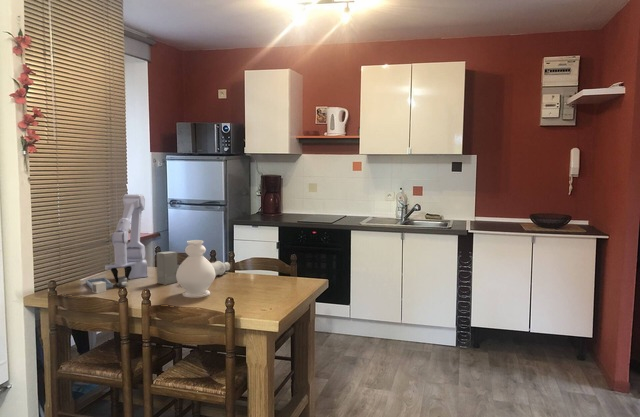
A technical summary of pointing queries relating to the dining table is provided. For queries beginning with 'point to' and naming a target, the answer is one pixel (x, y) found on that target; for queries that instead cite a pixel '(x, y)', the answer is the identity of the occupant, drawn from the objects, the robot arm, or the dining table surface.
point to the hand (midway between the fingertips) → (121, 282)
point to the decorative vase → (195, 271)
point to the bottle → (220, 267)
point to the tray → (90, 281)
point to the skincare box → (166, 267)
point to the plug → (122, 281)
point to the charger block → (99, 287)
